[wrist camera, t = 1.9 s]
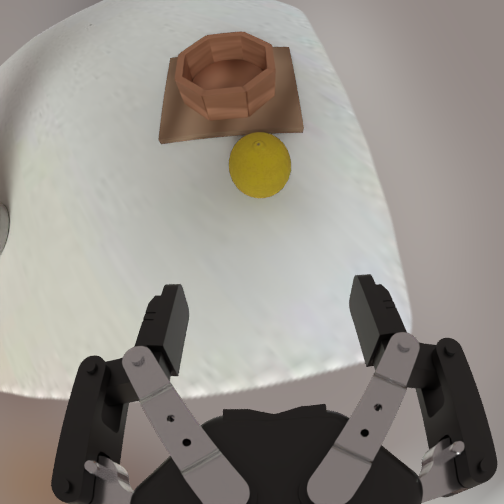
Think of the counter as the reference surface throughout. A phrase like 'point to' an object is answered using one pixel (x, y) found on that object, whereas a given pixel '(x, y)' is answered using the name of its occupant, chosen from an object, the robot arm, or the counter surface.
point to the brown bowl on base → (230, 90)
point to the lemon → (259, 165)
